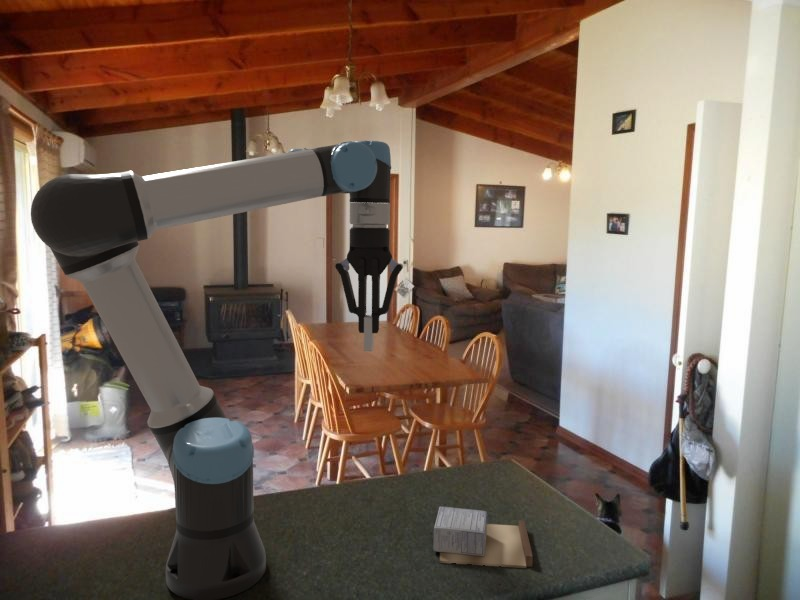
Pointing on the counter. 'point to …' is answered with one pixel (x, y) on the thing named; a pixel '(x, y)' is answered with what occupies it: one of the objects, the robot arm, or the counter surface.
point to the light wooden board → (494, 549)
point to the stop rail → (525, 543)
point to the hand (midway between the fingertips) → (368, 349)
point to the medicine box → (460, 531)
